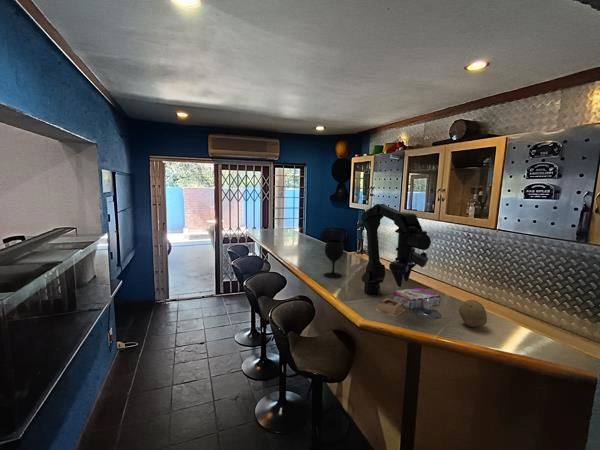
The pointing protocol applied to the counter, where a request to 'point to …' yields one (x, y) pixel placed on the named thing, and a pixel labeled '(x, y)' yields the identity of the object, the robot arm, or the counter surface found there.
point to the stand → (391, 314)
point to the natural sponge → (473, 313)
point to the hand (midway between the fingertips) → (403, 283)
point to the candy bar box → (415, 297)
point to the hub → (427, 310)
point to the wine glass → (333, 255)
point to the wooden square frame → (390, 306)
